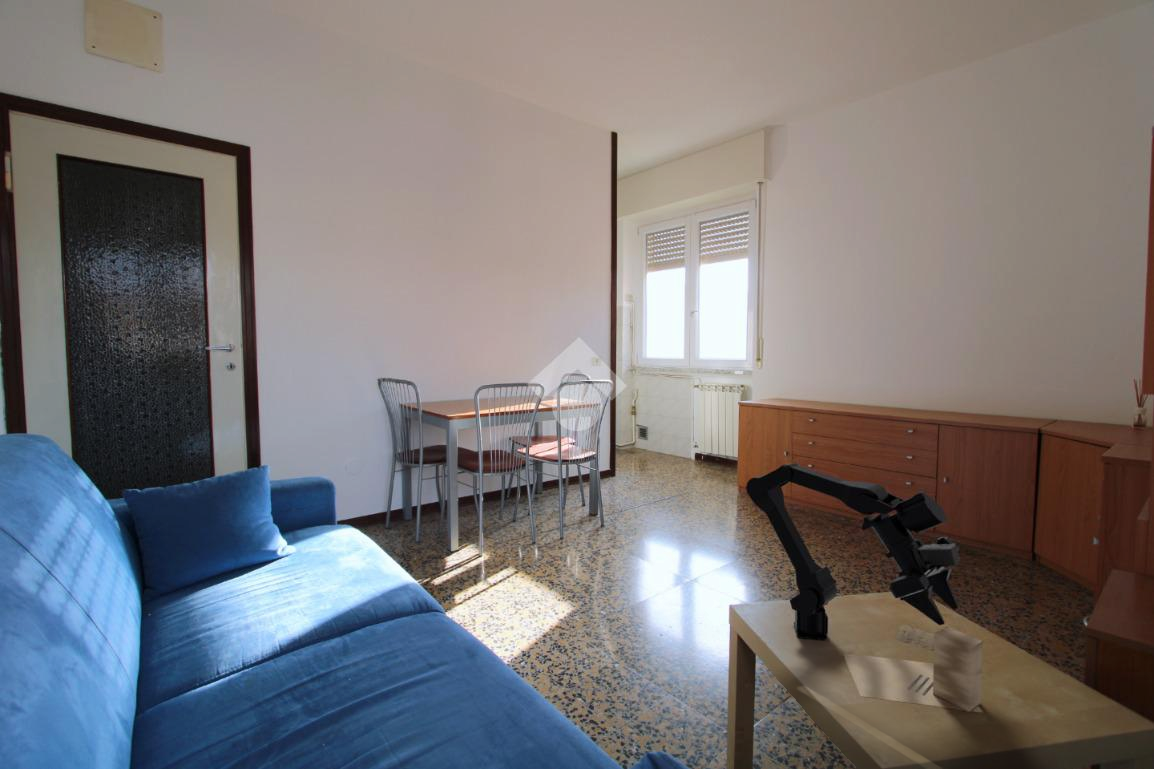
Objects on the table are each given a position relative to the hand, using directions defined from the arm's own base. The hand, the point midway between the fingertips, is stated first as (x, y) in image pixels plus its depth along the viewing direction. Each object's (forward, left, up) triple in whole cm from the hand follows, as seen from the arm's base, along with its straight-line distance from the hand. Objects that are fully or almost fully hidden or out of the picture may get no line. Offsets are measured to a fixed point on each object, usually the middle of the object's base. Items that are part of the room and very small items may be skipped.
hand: (949, 616), depth 104 cm
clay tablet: (+1, +16, -15) cm, 22 cm away
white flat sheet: (-8, -2, -14) cm, 16 cm away
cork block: (-1, -6, -13) cm, 14 cm away
